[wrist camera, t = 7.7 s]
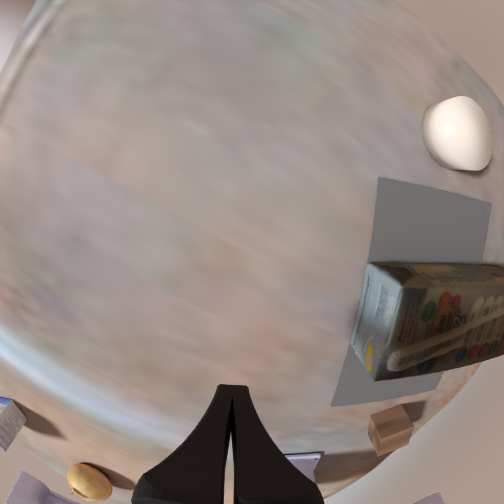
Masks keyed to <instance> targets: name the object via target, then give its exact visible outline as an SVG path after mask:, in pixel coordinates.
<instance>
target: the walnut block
mask: <svg viewBox="0 0 504 504" xmlns="http://www.w3.org/2000/svg"><path fill="white" fill-rule="evenodd" d="M413 428H414V425H413V423H412V422H411V420H410V418H409V417H408V415H407V413H406V412H405V410H404V408H403V407H402V405H401V404H400V405H397V406H395V407H392V408H389V409H387V410H384V411H381V412H378V413H375V414H372V415H370V422H369V430H368V435H369V437H370V440H371V442H372V444H373V447H374V449H375V452H376V454H377V456H380V455H383V454H385V453H388V452H391V451H393V450H396V449H398V448H401V447H403V446H405V445H407V444H408V443H409V440H410V437H411V434H412V431H413Z"/></svg>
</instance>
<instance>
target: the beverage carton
mask: <svg viewBox="0 0 504 504" xmlns="http://www.w3.org/2000/svg"><path fill="white" fill-rule="evenodd" d="M351 346H352V347H353V349H354V351H355V354H356V356H357V357H358V358H359V360H360V361H361V362H362V364H363V365H364V367H365V368H366V370H367V373H368V374H369V376H370V379H371V380H372V381H374V382H376V381H383V380H392V379H401V378H406V377H414V376H421V375H426V374H431V373H437V372H442V371H446V370H451V369H455V368H460V367H464V366H468V365H472V364H475V363H478V362H482V361H485V360H489V359H492V358H495V357H498V356H501V355H504V268H503V267H495V266H470V265H444V264H382V263H368V264H367V266H366V272H365V279H364V284H363V290H362V295H361V301H360V305H359V310H358V314H357V318H356V322H355V327H354V330H353V334H352V339H351Z"/></svg>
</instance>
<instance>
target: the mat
mask: <svg viewBox="0 0 504 504" xmlns="http://www.w3.org/2000/svg"><path fill="white" fill-rule="evenodd" d="M490 210H491V204H490V203H487V202H484V201H480V200H477V199H473V198H469V197H466V196H462V195H458V194H454V193H451V192H447V191H442V190H438V189H434V188H430V187H425V186H421V185H416V184H411V183H407V182H402V181H397V180H391V179H386V178H380V177H379V178H378V189H377V199H376V208H375V217H374V224H373V232H372V239H371V245H370V251H369V257H368V263H382V264H444V265H470V266H481V262H482V258H483V253H484V248H485V243H486V237H487V231H488V225H489V218H490ZM368 263H367V264H368ZM362 290H363V289H362ZM361 295H362V294H361ZM360 301H361V299H360ZM359 305H360V304H359ZM358 310H359V308H358ZM357 314H358V312H357ZM356 318H357V317H356ZM355 322H356V321H355ZM354 327H355V325H354ZM353 330H354V329H353ZM352 334H353V333H352ZM351 339H352V337H351ZM443 373H444V371H442V372H437V373H431V374H426V375H421V376H414V377H406V378H401V379H392V380H383V381H376V382H374V381H372V380H371V379H370V376H369V374H368V373H367V370H366V368H365V367H364V365H363V364H362V362H361V361H360V360H359V358H358V357H357V356H356V354H355V351H354V349H353V347H352V346H351V341H350V344H349V348H348V352H347V355H346V359H345V362H344V366H343V369H342V372H341V376H340V379H339V382H338V385H337V388H336V392H335V395H334V398H333V401H332V403H331V407H334V406H344V405H353V404H361V403H369V402H375V401H382V400H388V399H394V398H399V397H404V396H409V395H414V394H418V393H423V392H427V391H431V390H435V389H436V387H437V385H438V383H439V381H440V379H441V377H442V375H443Z"/></svg>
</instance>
